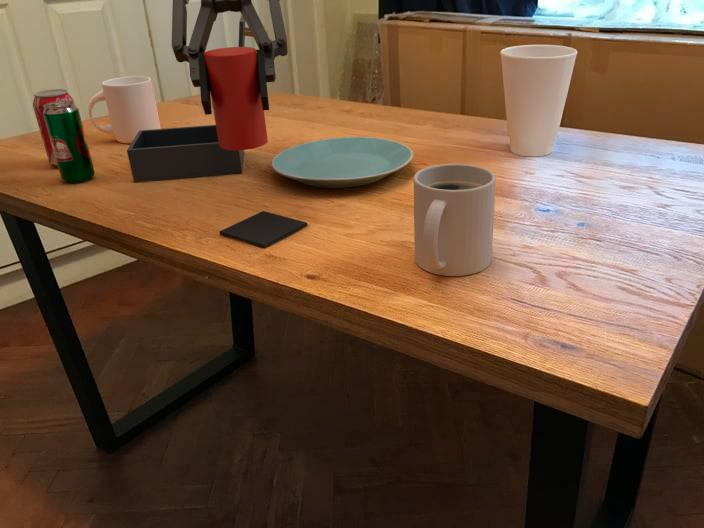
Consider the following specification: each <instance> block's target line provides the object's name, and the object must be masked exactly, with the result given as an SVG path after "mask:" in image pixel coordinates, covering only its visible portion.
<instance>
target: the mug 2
mask: <svg viewBox="0 0 704 528" xmlns="http://www.w3.org/2000/svg"><path fill="white" fill-rule="evenodd" d="M496 179H497V178H496V175H495V173H494V172H493V171H491V170H490V169H487V168H485V167H484V166H483V167H482V166H479V165H474V164H469V163H468V164H467V163H443V164H436V165H431V166H428V167H424V168H422V169H420V170H419V171H417V172H416V173H414V176H413V227H414V228H413V230H414V232H413V233H414V235H413V236H414V261H415V263H416V265H417V266H418V267H419V268H420V269H422V270H423V271H425V272H427V273H431V274H434V275H438V276H444V277H463V276H470V275H474V274H477V273H480V272H482V271H484V270H486V269H487V268H488V267H489V266H490V265H491V263H492V261H493V246H494V245H493V244H494V243H493V241H494V222H495V203H496V184H497V183H496V182H497V181H496Z"/></svg>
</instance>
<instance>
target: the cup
mask: <svg viewBox="0 0 704 528" xmlns="http://www.w3.org/2000/svg"><path fill="white" fill-rule="evenodd" d="M499 54H500V58H501V59H500V61H501V71H502V83H503V94H504V106H505V107H504V108H505V119H506V131H507V136H508V137H509V146H510V152H511V153H512V154H515V155H517V156H522V157H529V158H530V157H531V158H533V157H543V156H547V155H550V154H552V153H553V150H554V146H555V145H554V144H555V141H556V138H557V137H558V136H559V131H560V127H561V122H562V119H563V114H564V110H565V105H566V101H567V97H568V92H569V88H570V84H571V80H572V76H573V72H574V71H573V70H574V67H575V63H576V59H577V55H578V50H577V49H576V48H573V47H571V46H565V45H558V44H524V45H522V44H521V45H515V46H509V47H505V48H503V49H501V50H500V52H499Z"/></svg>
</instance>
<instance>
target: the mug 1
mask: <svg viewBox="0 0 704 528" xmlns="http://www.w3.org/2000/svg"><path fill="white" fill-rule="evenodd" d="M101 86H102V89H101V90H99V91H98V92H96V93H95V94H94V95H93V96H92V98H91V99H90V101H89V103H88V108H87V109H88V115H89V119H90V121H91V123H92V125H93V127H95V128H96V129H97V130H98V131H99V132H101V133H104V134H108V135H113V136H114V139H115V140H116V141H117V142H119V143H121V144H128V145H131V143H132V141H133V140H134V138H135V137H136V135H137V134H138V132H139V131H140V130H152V129H162V127H161V122H160V117H159V113H158V107H157V102H156V96H155V92H154V87H153V82H152V78H151V77H149V76H147V75H146V76H145V75H129V76H119V77H113V78H110V79H106V80H104V81H102V82H101ZM102 101H105V103H106V108H107V112H108V115H109V116H108V117H109V120H110V123H109V124H107V125H101V124H99V123H97V122H96V121H95V120H94V118H93V114H92V113H93V112H92V111H93V108H94V107H95V105H96V104H97V103H99V102H102Z"/></svg>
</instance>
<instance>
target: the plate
mask: <svg viewBox="0 0 704 528" xmlns="http://www.w3.org/2000/svg"><path fill="white" fill-rule="evenodd" d="M413 158H414V152H413V150H412V149H411V148H410V147H409V146H408V145H406V144H404V143H401V142H398V141H396V140H391V139H388V138H381V137H373V136H341V137H340V136H339V137H332V138H324V139H318V140H312V141H308V142H304V143H300V144H296V145H293V146H290V147H288V148H286V149H283V150H282V151H279V152H278V153H276V155H274V157H272V160H271V162H270V165H271V168H272V170H274V172H276V173H277V174H278V175H281V176H283V177H286V178H289V179H292V180H294V181H298V182H300V183H302V184H305V185H308V186H313V187H318V188H325V189H326V188H327V189H328V188H329V189H339V188H340V189H342V188H343V189H344V188H353V187H354V188H355V187H361V186H365V185H370V184H372V183H375V182H377V181H378V182H379V181H381V180H382V179H384V178H385V177H387V176H389V175H391V174H393V173H395V172H397V171H399V170H401V169H403V168H404V167H406V166H408V164H409V163H410V162H411V161H412V160H413Z"/></svg>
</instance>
